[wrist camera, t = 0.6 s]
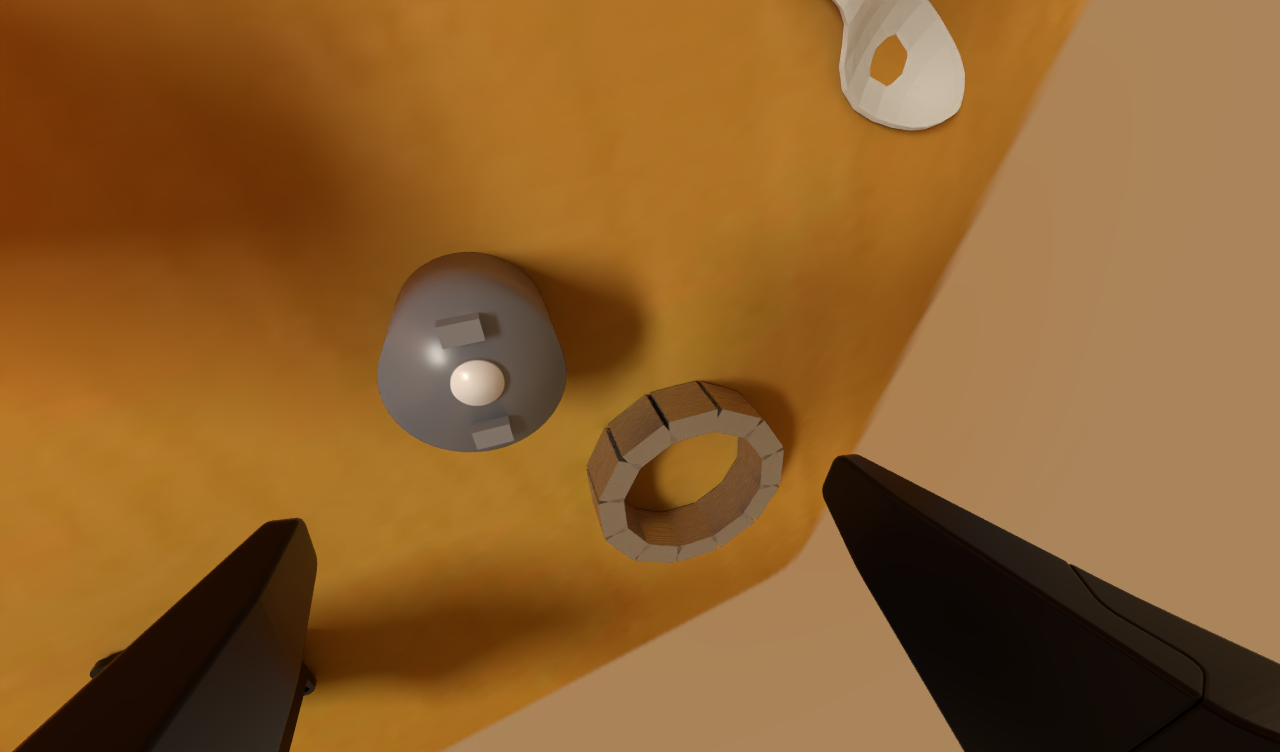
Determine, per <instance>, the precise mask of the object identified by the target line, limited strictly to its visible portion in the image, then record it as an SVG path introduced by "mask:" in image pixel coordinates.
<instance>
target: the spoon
mask: <svg viewBox="0 0 1280 752" xmlns="http://www.w3.org/2000/svg"><path fill="white" fill-rule="evenodd" d="M832 1H833V2H834V3H835V4H836V6H837V7H838V8H839V10H840V13H841V16H842V20H843V23H844V30H843V41H842V49H841V56H840V63H839V71H840V79H841V86H842V91H843V93H844V95H845V96H846V98H847V99H848V101H849V103H850V104H851V106H852V107H853V109H854V110H855V111H857V112H858V113H860V114H862V115H863V116H865V117H866V118H868V119H869V120H871V121H873V122H876V123H879V124H882V125H885V126H888V127H891V128H897V129H903V130H922V129H927V128H930V127H932V126H935V125H937V124H940V123H941V122H943V121H945V120H946V119H948V118H949V117H951V116H953V115H954V114H955V113H956V112H957V111H958V110H959V108H960V106H961V103H962V99H963V94H964V83H965V72H964V68H963V64H962V60H961V56H960V54H959V52H958V50H957V47H956V45H955V43H954V41H953V39H952V37H951V35H950V33H949V32H948V30H947V28H946V27H945V25H944V23H943V21H942V20H941V18H940V16H939V15H938V13H937V12H936V11H935V9H934V8H933V6H932V5H931V3H930V2H929V1H928V0H832ZM895 34H896V35H897V37H898V38H899V40H900V42H901V43H902V45H903V46H904V48H905V49H906V51H907V52H908V57H907V60H906V63H905V67H904V70H903V73H902V75H901V76H900V77H899V78H897V79H896V80H895V81H894V82H893V83H892V84H891V85H889V86H885V85H883V84H882V83H880V82H878V81H877V80H875V79H873V78H872V77H870V65H871V62H872V58H873V55H874V52H875V50H876V48H877V47H878V46H879V45H880V44H881V43H882V42H883V41H884V40H885V39H886V38H887V37H889V36H892V35H895Z"/></svg>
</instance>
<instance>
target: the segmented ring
mask: <svg viewBox="0 0 1280 752" xmlns="http://www.w3.org/2000/svg"><path fill="white" fill-rule="evenodd" d="M608 425H609V428H610V429H606V428H605V429H604V431H603V433H602V435H601V437H600V439H599V441H598V444H597V446H596V448H595V450H594V452H593V454H592V456H591V458H590V461H589V463H588V465H587V466H588V469H587V474H588V479H589V484H590V490H591V495H592V500H593V504H594V507H595V510H596V513H597V516H598V520H599V523H600V526H601V529H602V532H603V535H604V538H606V541H607V542H608V543H610V544H611V545H613V546H614V547H615V548H617V549H618V550H620V551H621V552H622V553H624V554H625V555H627V556H628V557H629V558H631V559H632V560H633V559H634V558H635V559H636V561H647V562H665V563H674V561H675V559H676V560H677V562H680V561H683V560H686V559H689V558H692V557H695V556H698V555H701V554H704V553H707V552H710V551H713V550H716V549H717V544H718V545H719V546H720V547H722V546H723V545H724V544H726V543H727V542H729V541H730V540H731V539H733V538H734V537H735V536H737V535H738V534H739V533H741V532H742V531H743V530H745V529H746V528H747V527H749V526H750V525H752V524H753V523H754V521H753V519H758V518H759V516H760V515H761V513H762V512H763V510H764V509H765V507H766V506H767V504H768V503H769V501H770V500H771V498H772V497H773V495H774V494H775V492H776V491H777V489H778V488H779V486H778V485H777V484H780V483H781V474H782V465H783V455H784V450H783V448H782V447H783V446H782V444H781V443H780V441H779V440H778V439H777V437H776V436H775V434H774V433H773V432H772V430H771V429H770V427H769V426H768V425H767V423H766V422H765V420H764V419H763V418H762V417H761V416H760V415H759V414H758V413H757V412H756V410H755V409H754V408H753V407H752V406H751V405H750V404H749V403H748V402H747V400H746V399H745V398H744V397H743V396H742V395H741V394H740V393H738V392H737V391H735V390H732V389H728V388H724V387H720V386H717V385H713V384H709V383H706V382H702V381H700V382H699V384H697V383H696V381H694V382H690V383H686V384H682V385H678V386H674V387H670V388H666V389H662V390H658V391H654V392H651V400H650V399H649V398H648V397H647V396H646V395H645V396H643V397H642V398H641V399H639V400H638V401H637V402H636V403H634V404H633V405H632V406H631V407H629V408H628V409H627V410H625V411H624V412H623V413H622V414H620V415H619V416H618V417H617V418H615V419H614V420H613V421H611V422H610V423H609V424H608ZM710 432H719V433H723V434H728V435H733V436H737V437H738V457H737V459H736V460H735V462H734V464H733V465H732V467H731V469H730V470H729V472H728V474H727V475H726V477H725V478H724V480H723V482H722V483H721V484H720V485H718V486H717V487H716V488H714V489H713V490H712V491H710V492H709V493H708V494H706V495H705V496H704V497H702V498H701V499H700V500H698V501H697V502H696V503H693V504H690V505H687V506H684V507H680V508H677V509H674V510H671V511H667V512H655V511H646V510H636V509H634V508H632V507H631V506H630V505H629V504H627V503H626V502H625V501H624V499H625V497H626V495H627V493H628V491H629V489H630V487H631V485H632V484H633V482H634V480H635V478H636V476H637V474H638V472H639V470H640V468H642V467H643V466H644V465H645V464H647V463H648V462H649V461H651V460H652V459H653V458H655V457H656V456H657V455H658V454H660V453H661V452H662V451H664V450H665V449H666V448H668V447H669V446H670V445H671V444H673V443H674V442H677V441H681V440H685V439H688V438H692V437H695V436H699V435H703V434H706V433H710ZM752 518H753V519H752Z"/></svg>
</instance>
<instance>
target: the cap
mask: <svg viewBox="0 0 1280 752" xmlns="http://www.w3.org/2000/svg"><path fill="white" fill-rule="evenodd" d="M377 382H378V388H379V393H380V396H381V398H382V401H383V403H384V405H385V407H386V409H387V411H388V412H389V414H390V415H391V416H392V418H393V419H394V420H395V421H396V422H397V423H398V424H399V425H400V426H401V427H402V428H403V429H404V430H405V431H407V432H408V433H409V434H411V435H412V436H414V437H416V438H417V439H419V440H421V441H423V442H425V443H427V444H430V445H432V446H435V447H439V448H442V449H446V450H451V451H459V452H482V451H490V450H495V449H499V448H502V447H506V446H509V445H511V444H514V443H516V442H518V441H520V440H522V439H524V438H526V437H528V436H529V435H531V434H532V433H533V432H535V431H536V430H538V429H539V428H540V427H541V426H542V425H543V424H544V423H545V422H546V421H547V420H548V419H549V418H550V417H551V415H552V414H553V412H554V411H555V409H556V408H557V406H558V404H559V402H560V400H561V398H562V395H563V392H564V389H565V383H566V363H565V358H564V355H563V351H562V349H561V346H560V343H559V341H558V338H557V335H556V333H555V330H554V327H553V325H552V322H551V320H550V317H549V314H548V312H547V309H546V306H545V304H544V301H543V299H542V297H541V294H540V292H539V291H538V289H537V287H536V286H535V284H534V283H533V282H532V281H531V279H530V278H529V277H528V276H527V275H526V274H525V273H524V272H523V271H521V270H520V269H519V268H517V267H516V266H514V265H513V264H511V263H509V262H507V261H505V260H503V259H501V258H498V257H496V256H492V255H488V254H483V253H476V252H461V253H453V254H448V255H444V256H441V257H439V258H436V259H433V260H431V261H430V262H428V263H426V264H424V265H423V266H421V267H420V268H419V269H417V270H416V271H415V272H414V273H413V274H412V275H411V276H410V277H409V278H408V279H407V281H406V282H405V283H404V285H403V286H402V288H401V290H400V292H399V294H398V297H397V300H396V303H395V307H394V310H393V314H392V317H391V321H390V324H389V327H388V331H387V334H386V338H385V341H384V345H383V348H382V352H381V355H380V358H379V363H378V370H377Z"/></svg>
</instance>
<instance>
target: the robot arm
mask: <svg viewBox="0 0 1280 752" xmlns="http://www.w3.org/2000/svg"><path fill="white" fill-rule="evenodd" d="M822 493H823V498H824V500H825V502H826V504H827V506H828V509H829V511H830V513H831V515H832V517H833V519H834V521H835V523H836V526H837V527H838V529H839V532H840V534H841V536H842V538H843V540H844V543H845V545H846V547H847V549H848V551H849V553H850V555H851V557H852V559H853V561H854V563H855V565H856V567H857V569H858V571H859V573H860V575H861V576H862V578H863V580H864V582H865V584H866V585H867V587H868V589H869V590H870V592H871V594H872V596H873V597H874V599H875V601H876V602H877V604H878V606H879V607H880V609H881V611H882V613H883V614H884V616H885V617H886V619H887V621H888V623H889V624H890V626H891V628H892V630H893V631H894V633H895V635H896V636H897V638H898V640H899V641H900V643H901V645H902V647H903V648H904V650H905V651H906V653H907V655H908V657H909V659H910V660H911V662H912V664H913V665H914V667H915V669H916V670H917V672H918V674H919V676H920V677H921V679H922V681H923V682H924V684H925V686H926V687H927V689H928V690H929V692H930V694H931V696H932V698H933V699H934V701H935V703H936V704H937V706H938V708H939V710H940V711H941V713H942V715H943V716H944V718H945V720H946V721H947V723H948V725H949V727H950V728H951V730H952V732H953V733H954V735H955V737H956V739H957V740H958V742H959V744H960V745H961V747H962V749H963V750H964V752H1280V664H1279V663H1277V662H1275V661H1272V660H1270V659H1268V658H1266V657H1264V656H1262V655H1259V654H1257V653H1255V652H1253V651H1251V650H1249V649H1247V648H1244V647H1242V646H1240V645H1238V644H1236V643H1234V642H1231V641H1229V640H1227V639H1225V638H1223V637H1221V636H1218V635H1216V634H1214V633H1212V632H1210V631H1208V630H1206V629H1203V628H1201V627H1199V626H1197V625H1195V624H1192V623H1190V622H1188V621H1186V620H1184V619H1182V618H1179V617H1178V616H1175V615H1173V614H1171V613H1169V612H1167V611H1165V610H1163V609H1161V608H1159V607H1156V606H1154V605H1152V604H1150V603H1148V602H1146V601H1144V600H1142V599H1139V598H1137V597H1135V596H1133V595H1131V594H1129V593H1127V592H1125V591H1123V590H1121V589H1119V588H1117V587H1115V586H1113V585H1111V584H1109V583H1107V582H1105V581H1103V580H1101V579H1099V578H1097V577H1095V576H1093V575H1092V574H1090V573H1087V572H1086V571H1084V570H1082V569H1080V568H1078V567H1076V566H1074V565H1072V564H1068V563H1067V562H1066V561H1064V560H1062V559H1060V558H1058V557H1057V556H1054V555H1053V554H1051V553H1049V552H1047V551H1045V550H1043V549H1041V548H1039V547H1037V546H1035V545H1033V544H1031V543H1029V542H1027V541H1025V540H1023V539H1021V538H1020V537H1018V536H1015V535H1014V534H1012V533H1010V532H1008V531H1006V530H1004V529H1002V528H1000V527H998V526H996V525H994V524H992V523H990V522H988V521H986V520H984V519H983V518H981V517H979V516H977V515H975V514H973V513H971V512H969V511H967V510H965V509H963V508H961V507H959V506H957V505H955V504H953V503H951V502H949V501H947V500H946V499H944V498H942V497H940V496H938V495H936V494H934V493H932V492H930V491H928V490H926V489H924V488H922V487H920V486H918V485H916V484H914V483H913V482H911V481H909V480H907V479H905V478H903V477H901V476H899V475H897V474H895V473H893V472H891V471H889V470H887V469H885V468H883V467H881V466H879V465H878V464H875V463H874V462H872V461H870V460H868V459H866V458H864V457H862V456H860V455H857V454H850V455H841V456H838V457H836V458H835V459H834V461H833V463H832V465H831V467H830V470H829V472H828V475H827V477H826V479H825V482H824V484H823V488H822ZM316 572H317V557H316V553H315V550H314V547H313V544H312V541H311V538H310V535H309V533H308V530H307V527H306V524H305V522H304V521H303V520H302V519H300V518H290V519H282V520H273V521H269V522H267V523H265V524H263V525H262V526H261V527H260V528H258V529H257V530H256V531H255V532H254V533H253V534H252V535H251V536H250V537H249V538H247V539H246V540H245V541H244V542H243V543H242V544H241V545H240V546H239V547H238V548H236V549H235V550H234V551H233V552H232V553H231V554H230V555H229V556H228V557H226V558H225V559H224V560H223V561H222V562H221V563H220V564H219V565H218V566H217V567H215V568H214V569H213V570H212V571H211V572H210V573H209V574H208V575H207V576H206V577H204V578H203V579H202V580H201V581H200V582H199V583H198V584H197V585H196V586H194V587H193V588H192V589H191V590H190V591H189V592H188V593H187V594H186V595H185V596H183V597H182V598H181V599H180V600H179V601H178V602H177V603H176V604H175V605H174V606H172V607H171V608H170V609H169V610H168V611H167V612H166V613H165V614H164V615H163V616H161V617H160V618H159V619H158V620H157V621H156V622H155V623H154V624H153V625H151V626H150V627H149V628H148V629H147V630H146V631H145V632H144V633H143V634H142V635H140V636H139V637H138V638H137V639H136V640H135V641H134V642H133V643H132V644H131V645H129V646H128V647H127V648H126V649H125V650H124V651H123V652H122V653H121V654H118V655H115V656H111V657H108V658H104V659H102V660H99V661H98V662H97V663H96V664H95V666H94V667H93V669H92V670H91V672H90V677H91V678H92V680H91V681H90V682H89V683H87V684H86V685H85V686H84V687H83V688H82V689H81V690H80V691H79V692H78V693H76V694H75V695H74V696H73V697H72V698H71V699H70V700H69V701H68V702H67V703H65V704H64V705H63V706H62V707H61V708H60V709H59V710H58V711H57V712H55V713H54V714H53V715H52V716H51V717H50V718H49V719H48V720H47V721H46V722H44V723H43V724H42V725H41V726H40V727H39V728H38V729H37V730H36V731H35V732H33V733H32V734H31V735H30V736H29V737H28V738H27V739H26V740H25V741H23V742H22V743H21V744H20V745H19V746H18V747H17V748H16V749H15V750H14V751H12V752H289V750H290V746H291V742H292V738H293V735H294V731H295V727H296V723H297V719H298V715H299V711H300V707H301V703H302V699H303V696H305V695H308V694H310V693H312V692H313V691H314V689H315V685H316V681H317V680H316V678H315V677H314V676H313V675H312V674H311V672H310V671H309V670H308V669H307V668H306V667H305V666H304V664H303V663H302V656H303V650H304V644H305V638H306V632H307V626H308V620H309V614H310V608H311V602H312V596H313V590H314V584H315V579H316Z"/></svg>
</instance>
